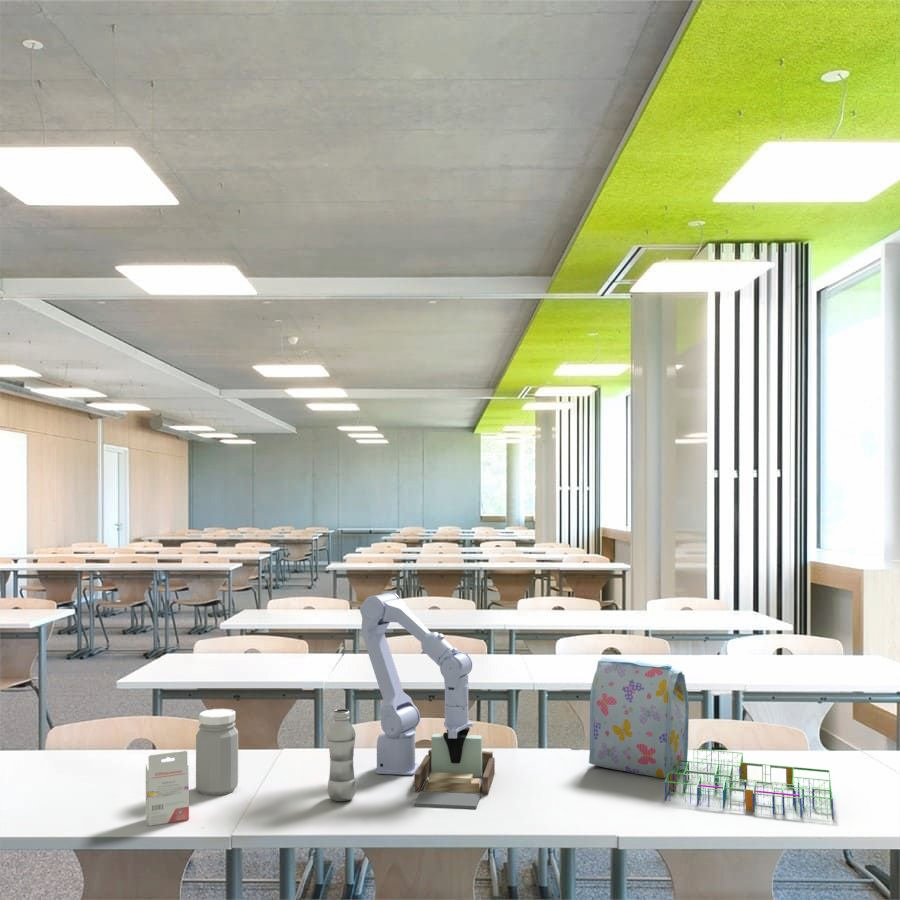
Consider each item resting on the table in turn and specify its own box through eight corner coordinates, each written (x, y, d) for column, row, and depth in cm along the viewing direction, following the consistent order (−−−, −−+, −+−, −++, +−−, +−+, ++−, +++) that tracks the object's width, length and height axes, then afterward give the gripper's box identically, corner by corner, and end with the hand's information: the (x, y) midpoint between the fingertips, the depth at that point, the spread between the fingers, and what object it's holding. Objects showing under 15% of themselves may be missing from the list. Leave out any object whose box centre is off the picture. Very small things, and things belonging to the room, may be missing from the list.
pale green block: (431, 774, 224) (431, 736, 224) (433, 770, 227) (433, 733, 227) (480, 776, 222) (480, 738, 222) (482, 772, 225) (482, 735, 225)
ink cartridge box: (186, 813, 202) (186, 745, 203) (189, 820, 198) (189, 750, 199) (144, 818, 199) (145, 749, 200) (147, 826, 195) (147, 755, 195)
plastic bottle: (361, 796, 212) (360, 708, 213) (348, 806, 206) (348, 715, 207) (335, 793, 215) (335, 706, 215) (322, 803, 208) (322, 713, 209)
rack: (414, 791, 216) (414, 769, 216) (427, 769, 232) (426, 749, 233) (488, 794, 213) (487, 772, 213) (495, 772, 230) (495, 751, 230)
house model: (664, 804, 208) (664, 782, 208) (679, 766, 235) (679, 747, 235) (833, 822, 195) (833, 799, 196) (828, 780, 223) (827, 760, 223)
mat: (413, 806, 206) (413, 803, 206) (420, 794, 214) (420, 791, 214) (476, 808, 204) (476, 806, 204) (480, 796, 212) (480, 794, 212)
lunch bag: (695, 765, 234) (693, 659, 236) (674, 783, 220) (672, 671, 221) (611, 752, 246) (610, 652, 247) (586, 769, 232) (585, 662, 233)
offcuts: (424, 793, 216) (424, 777, 216) (426, 787, 220) (426, 771, 220) (479, 794, 214) (479, 779, 214) (481, 788, 219) (481, 773, 219)
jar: (241, 793, 215) (242, 715, 216) (198, 799, 211) (198, 719, 212) (234, 781, 224) (234, 706, 225) (193, 786, 220) (193, 710, 221)
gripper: (469, 711, 217) (469, 770, 217) (476, 697, 231) (476, 752, 231) (439, 710, 218) (439, 769, 218) (448, 696, 232) (448, 751, 232)
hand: (456, 760), depth 224 cm, fingers closed on pale green block, 3 cm apart
